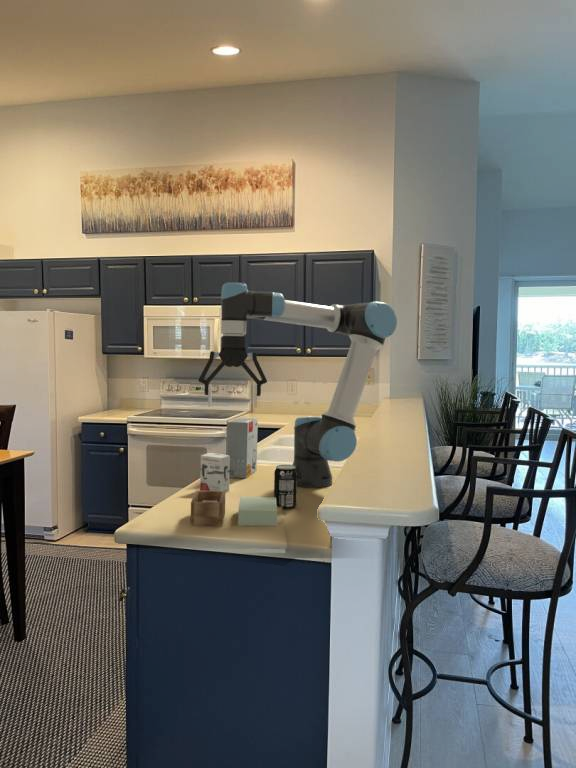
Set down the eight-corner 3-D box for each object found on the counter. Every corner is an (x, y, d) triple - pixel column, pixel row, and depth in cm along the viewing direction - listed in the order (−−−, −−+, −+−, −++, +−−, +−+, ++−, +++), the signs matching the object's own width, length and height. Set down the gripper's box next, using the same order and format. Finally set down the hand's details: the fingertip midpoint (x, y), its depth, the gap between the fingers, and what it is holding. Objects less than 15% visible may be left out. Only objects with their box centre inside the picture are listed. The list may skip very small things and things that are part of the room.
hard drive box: (246, 479, 220) (247, 422, 219) (225, 477, 222) (226, 421, 220) (257, 470, 235) (258, 417, 234) (237, 469, 237) (238, 417, 236)
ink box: (199, 490, 201) (199, 454, 200) (207, 488, 205) (208, 452, 205) (221, 494, 197) (222, 457, 196) (230, 491, 201) (230, 455, 201)
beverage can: (283, 502, 188) (284, 463, 187) (300, 506, 184) (301, 466, 183) (269, 507, 183) (269, 466, 182) (286, 511, 179) (287, 469, 178)
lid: (275, 514, 175) (275, 497, 175) (276, 529, 161) (277, 510, 161) (239, 514, 175) (240, 496, 174) (238, 529, 161) (238, 510, 160)
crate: (225, 515, 172) (225, 490, 172) (222, 529, 160) (222, 502, 159) (195, 515, 172) (196, 490, 172) (190, 529, 159) (190, 502, 159)
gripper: (275, 336, 190) (274, 405, 191) (192, 334, 189) (192, 404, 190) (275, 336, 182) (274, 408, 183) (190, 334, 181) (189, 407, 182)
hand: (232, 406), depth 187 cm, fingers open, 13 cm apart
